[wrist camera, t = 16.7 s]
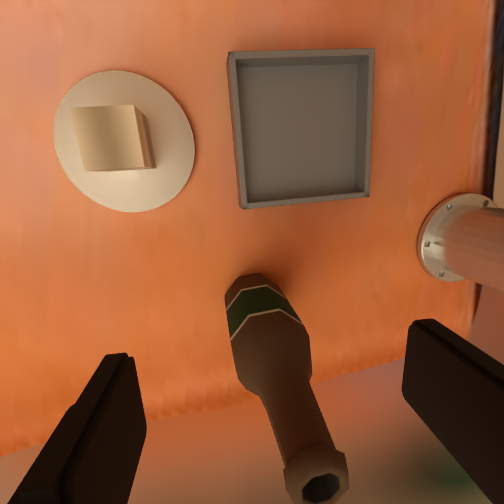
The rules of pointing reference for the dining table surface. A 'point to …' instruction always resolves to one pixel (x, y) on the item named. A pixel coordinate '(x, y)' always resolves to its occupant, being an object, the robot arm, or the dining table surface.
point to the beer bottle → (284, 387)
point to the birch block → (113, 138)
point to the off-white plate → (162, 135)
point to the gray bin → (301, 124)
